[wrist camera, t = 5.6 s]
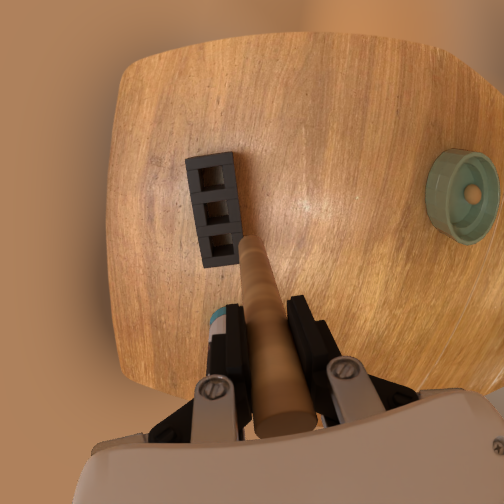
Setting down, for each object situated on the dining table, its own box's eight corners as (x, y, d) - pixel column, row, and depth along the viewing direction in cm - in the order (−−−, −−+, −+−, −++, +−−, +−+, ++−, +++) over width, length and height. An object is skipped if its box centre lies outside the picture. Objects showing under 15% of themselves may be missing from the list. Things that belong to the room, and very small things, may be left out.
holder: (189, 157, 35) (184, 159, 31) (232, 151, 35) (232, 152, 31) (206, 256, 40) (203, 268, 36) (245, 251, 40) (246, 262, 36)
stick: (236, 236, 22) (251, 416, 7) (262, 233, 22) (320, 406, 7) (239, 259, 23) (257, 446, 8) (264, 256, 23) (316, 437, 8)
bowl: (423, 146, 36) (447, 149, 30) (479, 151, 36) (501, 155, 30) (420, 237, 41) (441, 250, 36) (474, 229, 42) (494, 239, 36)
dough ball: (460, 182, 37) (474, 186, 34) (472, 182, 38) (485, 186, 34) (459, 202, 39) (472, 207, 35) (471, 201, 39) (484, 206, 36)
